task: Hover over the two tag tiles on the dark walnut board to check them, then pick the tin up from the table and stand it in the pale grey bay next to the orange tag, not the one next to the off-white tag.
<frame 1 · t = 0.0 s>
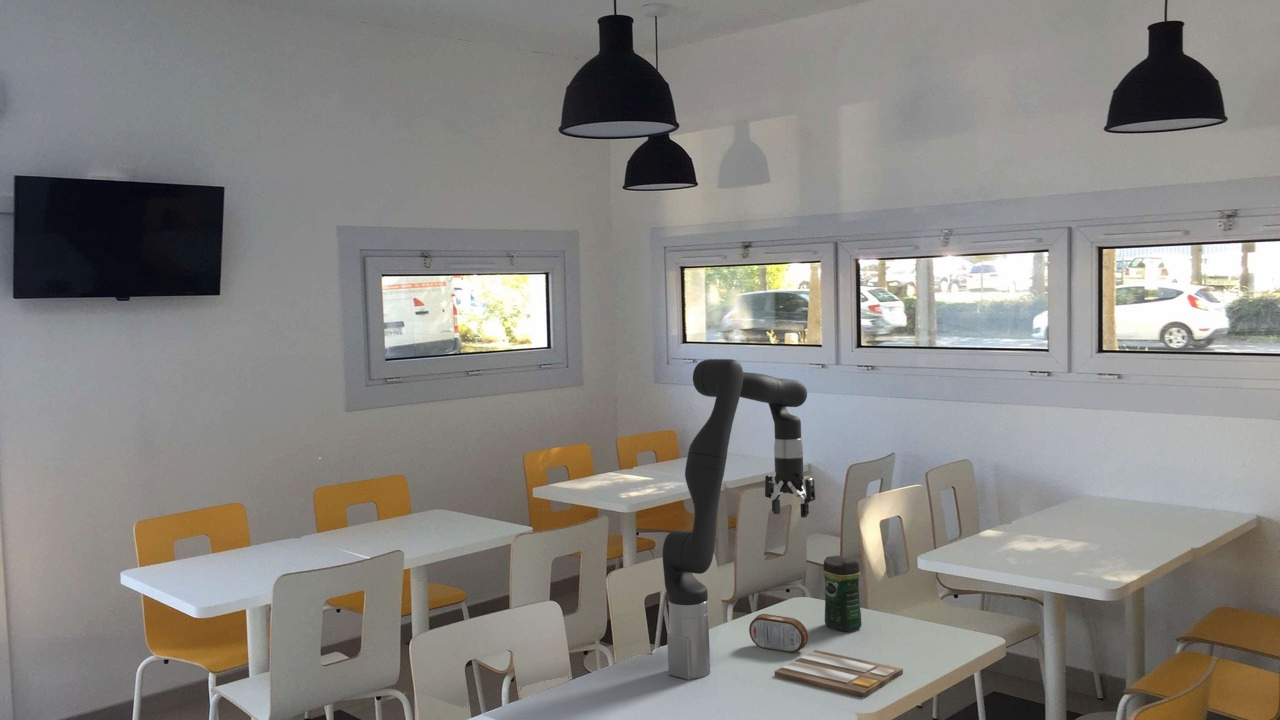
hand: (790, 515, 273), 29 cm above the table, tool pointing down, fingers open, 8 cm apart
coffee jar: (843, 627, 270), on the table
tin: (778, 650, 254), on the table
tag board: (838, 675, 235), on the table
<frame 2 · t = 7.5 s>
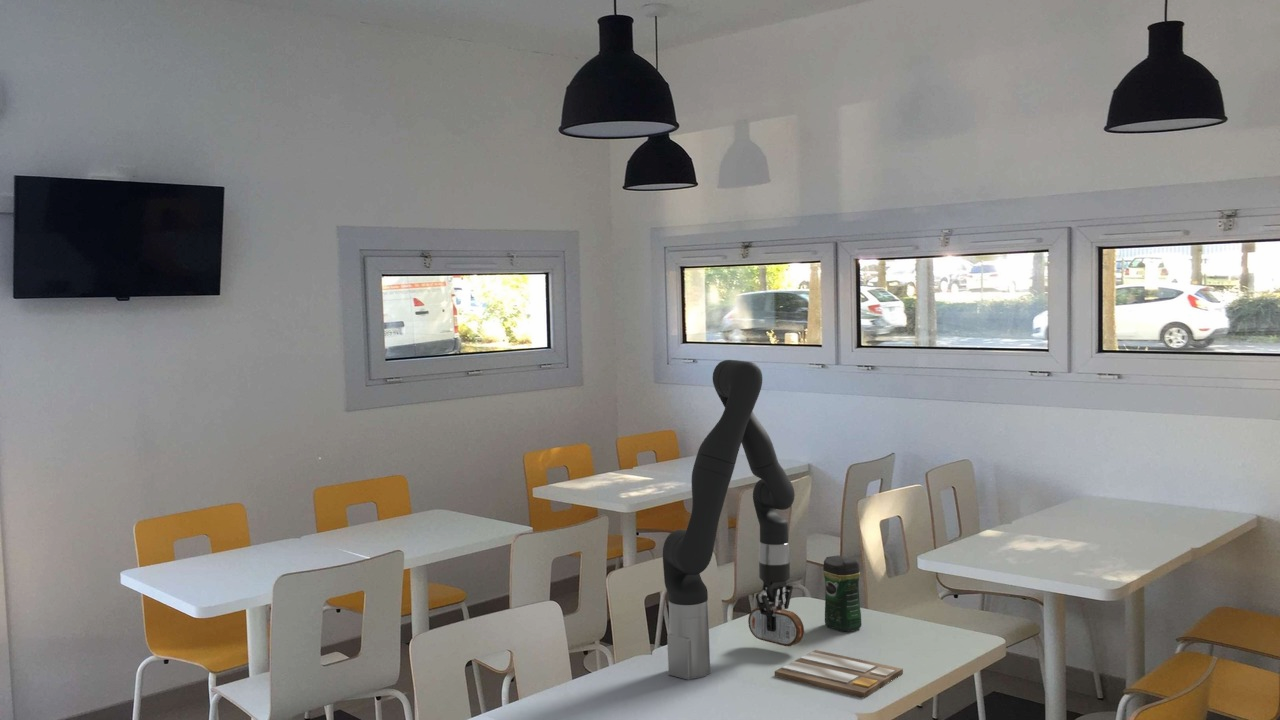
hand: (774, 628, 254), 5 cm above the table, tool pointing down, fingers closed on tin, 2 cm apart
tin: (774, 643, 254), point 2 cm above the table, touching gripper
everything else where it was.
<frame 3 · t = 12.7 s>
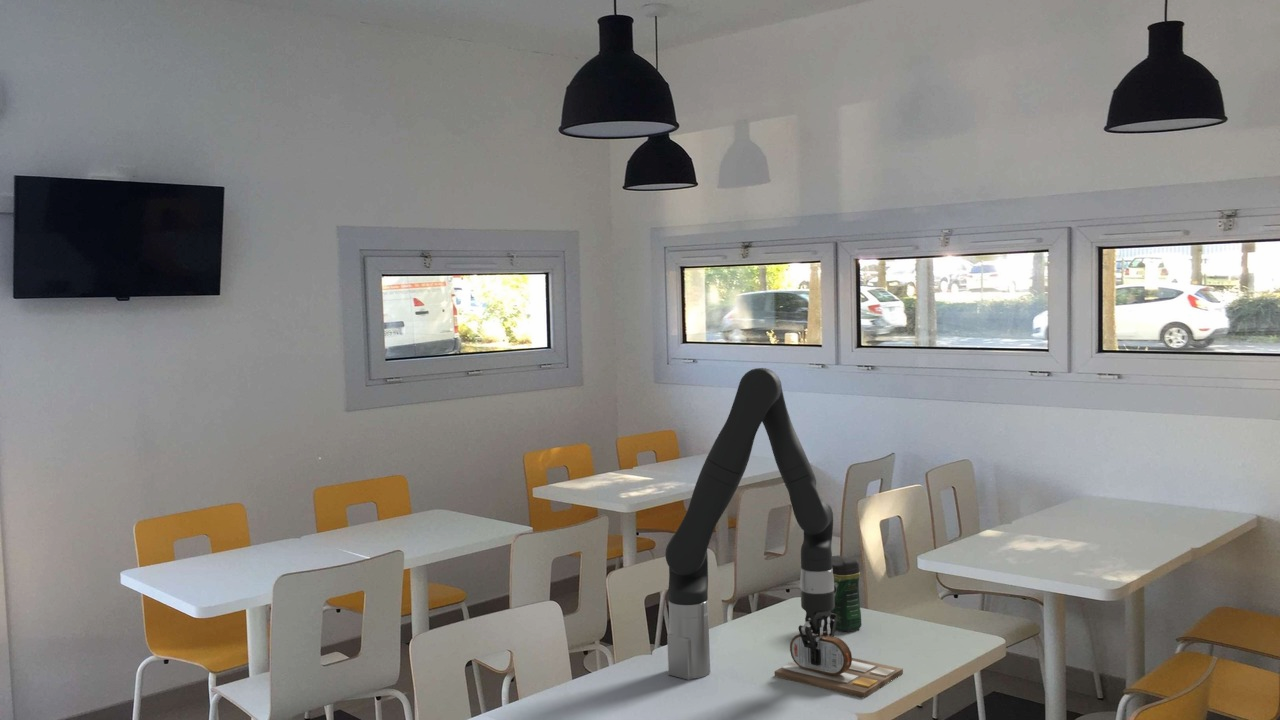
hand: (819, 662, 233), 4 cm above the table, tool pointing down, fingers closed on tin, 2 cm apart
tin: (819, 672, 233), point 1 cm above the table, touching gripper, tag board
everything else where it was.
when the fingers open (4 cm above the table, at t = 13.0 s): tin stays where it is, resting on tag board.
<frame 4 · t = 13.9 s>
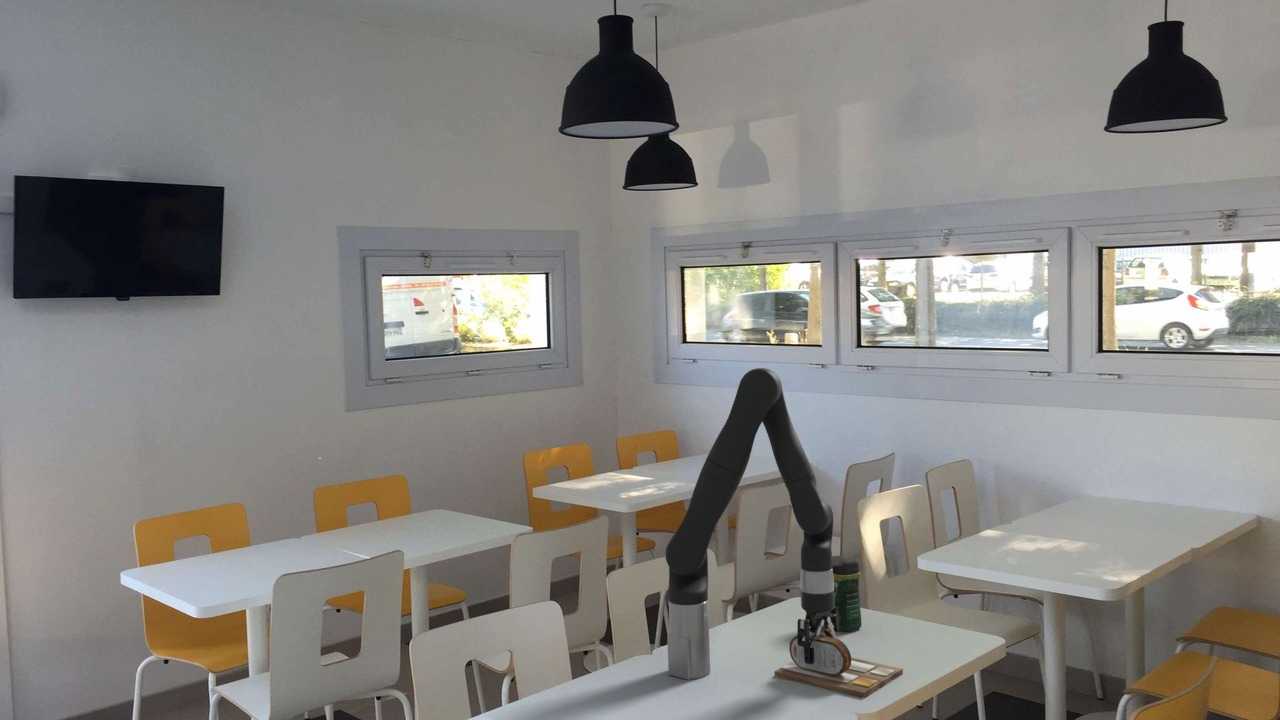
hand: (819, 658, 233), 5 cm above the table, tool pointing down, fingers open, 8 cm apart
tin: (819, 672, 233), point 1 cm above the table, touching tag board
everything else where it was.
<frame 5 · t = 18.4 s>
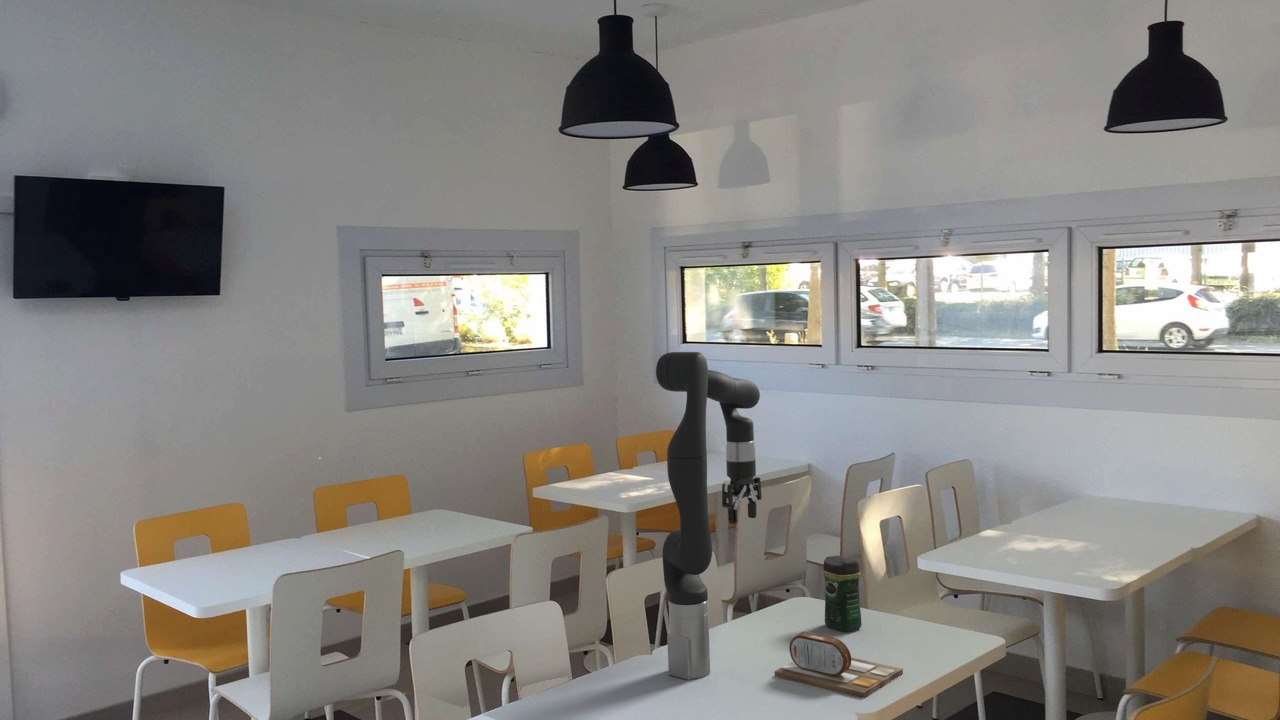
hand: (742, 520, 265), 30 cm above the table, tool pointing down, fingers open, 8 cm apart
nothing on the table moved.
at the end: tin 0.4 cm from the target spot on the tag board, point 1.3 cm above the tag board's base; tin tilted 0°; the gripper is holding nothing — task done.
